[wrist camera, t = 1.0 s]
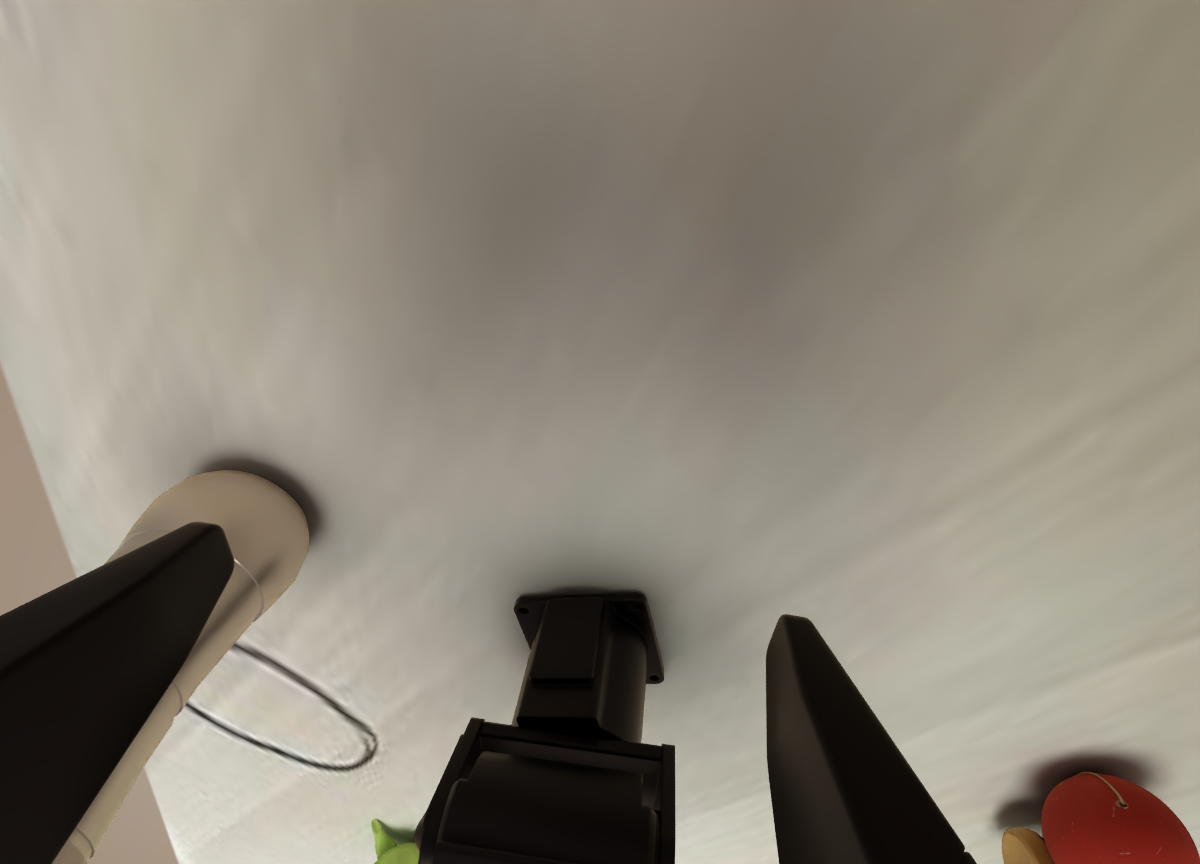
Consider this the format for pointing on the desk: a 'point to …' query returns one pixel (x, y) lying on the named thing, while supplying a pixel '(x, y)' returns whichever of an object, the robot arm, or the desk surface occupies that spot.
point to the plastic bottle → (261, 575)
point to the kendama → (1102, 827)
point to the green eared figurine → (393, 848)
